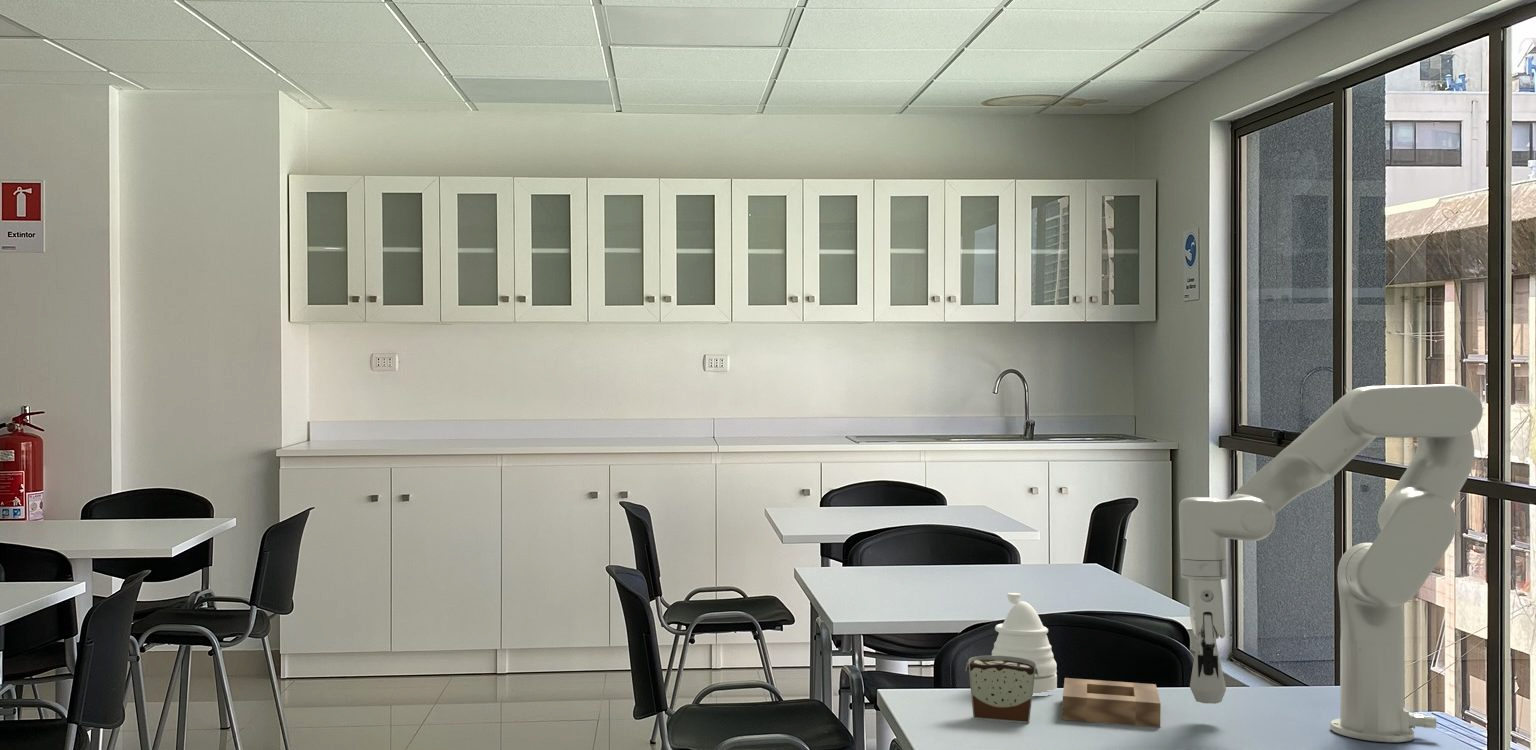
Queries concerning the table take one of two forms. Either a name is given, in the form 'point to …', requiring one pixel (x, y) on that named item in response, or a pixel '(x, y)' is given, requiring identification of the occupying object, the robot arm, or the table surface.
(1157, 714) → the brown wooden square frame
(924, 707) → the table surface
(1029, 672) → the food container
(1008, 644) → the honey pot
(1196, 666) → the salt shaker
